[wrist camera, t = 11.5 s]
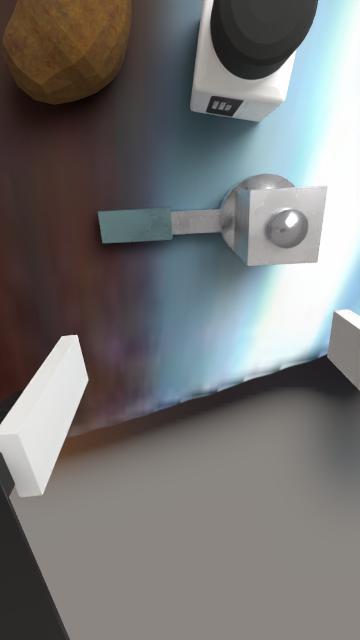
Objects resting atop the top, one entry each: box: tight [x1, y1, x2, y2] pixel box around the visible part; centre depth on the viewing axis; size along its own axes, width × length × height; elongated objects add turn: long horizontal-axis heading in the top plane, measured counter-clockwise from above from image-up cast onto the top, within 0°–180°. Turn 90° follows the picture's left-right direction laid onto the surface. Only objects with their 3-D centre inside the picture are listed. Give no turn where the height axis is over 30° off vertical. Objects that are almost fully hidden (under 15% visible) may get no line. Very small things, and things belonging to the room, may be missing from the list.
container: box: [190, 0, 318, 122], centre depth 24 cm, size 8×8×13 cm
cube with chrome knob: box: [234, 186, 327, 266], centre depth 29 cm, size 6×6×8 cm
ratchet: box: [98, 174, 295, 251], centre depth 32 cm, size 22×9×8 cm, turn 93°
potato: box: [2, 0, 131, 105], centre depth 26 cm, size 8×12×8 cm, turn 126°
